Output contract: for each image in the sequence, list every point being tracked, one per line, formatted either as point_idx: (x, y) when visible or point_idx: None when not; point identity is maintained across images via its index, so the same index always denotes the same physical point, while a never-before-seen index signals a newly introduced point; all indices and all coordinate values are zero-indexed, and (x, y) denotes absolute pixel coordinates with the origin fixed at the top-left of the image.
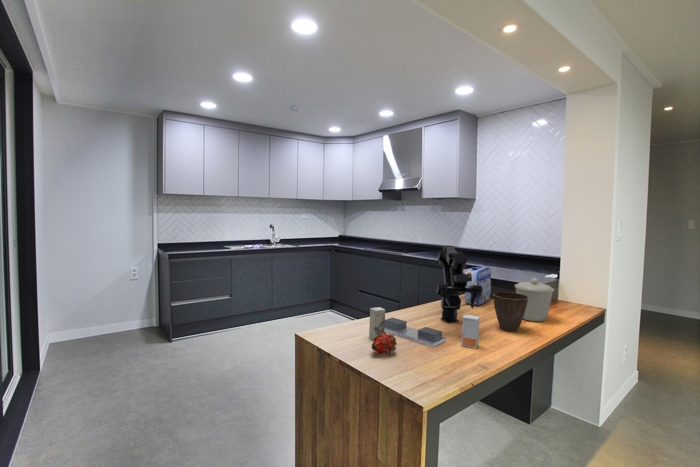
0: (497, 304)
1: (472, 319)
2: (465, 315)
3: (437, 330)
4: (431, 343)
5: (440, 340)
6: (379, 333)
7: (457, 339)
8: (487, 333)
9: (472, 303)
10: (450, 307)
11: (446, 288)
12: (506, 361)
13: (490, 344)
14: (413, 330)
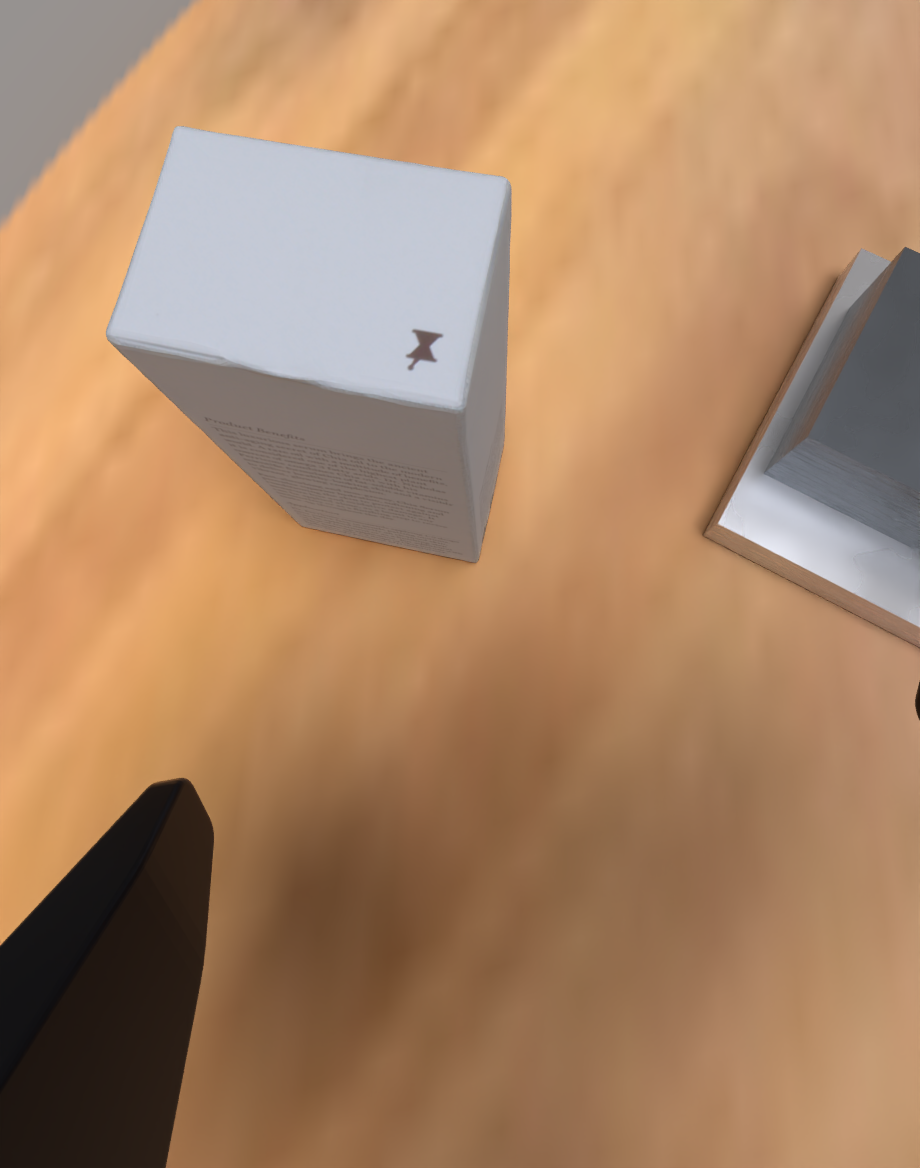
0: None
1: (299, 154)
2: (444, 316)
3: (891, 463)
4: (879, 258)
5: (778, 406)
6: None
7: (549, 665)
8: None
9: (99, 889)
10: (916, 695)
11: None
12: (68, 166)
13: (138, 616)
14: None
